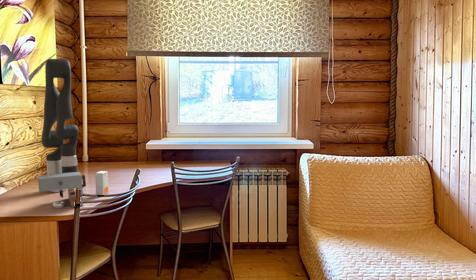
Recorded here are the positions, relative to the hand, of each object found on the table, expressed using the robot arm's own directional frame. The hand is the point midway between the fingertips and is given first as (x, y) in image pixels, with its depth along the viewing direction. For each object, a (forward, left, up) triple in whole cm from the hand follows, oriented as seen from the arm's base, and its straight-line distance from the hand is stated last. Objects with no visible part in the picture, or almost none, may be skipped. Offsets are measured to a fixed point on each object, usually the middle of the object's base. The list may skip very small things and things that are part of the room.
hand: (71, 196), depth 215 cm
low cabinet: (+11, -6, -2) cm, 12 cm away
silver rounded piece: (+11, -7, -2) cm, 13 cm away
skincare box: (-4, +15, -2) cm, 16 cm away
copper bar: (+5, 0, -2) cm, 6 cm away
